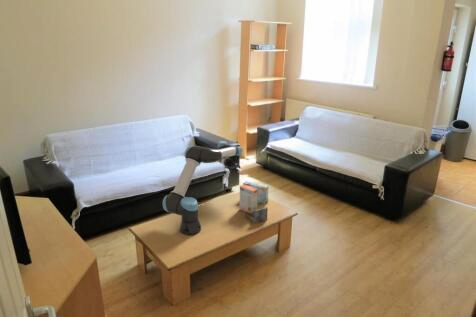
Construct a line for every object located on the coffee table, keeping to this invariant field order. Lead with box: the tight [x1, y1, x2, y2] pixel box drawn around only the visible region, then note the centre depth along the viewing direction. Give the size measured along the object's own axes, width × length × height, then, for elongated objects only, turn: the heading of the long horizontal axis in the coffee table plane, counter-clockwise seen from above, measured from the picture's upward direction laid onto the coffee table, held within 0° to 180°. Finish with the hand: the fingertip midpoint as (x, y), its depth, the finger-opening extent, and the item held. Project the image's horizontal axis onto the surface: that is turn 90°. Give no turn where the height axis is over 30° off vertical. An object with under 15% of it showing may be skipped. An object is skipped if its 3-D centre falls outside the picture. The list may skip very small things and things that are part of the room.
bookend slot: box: [244, 206, 269, 224], centre depth 262 cm, size 12×13×10 cm
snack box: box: [242, 180, 270, 205], centre depth 289 cm, size 21×6×15 cm, turn 63°
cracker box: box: [239, 184, 258, 216], centre depth 270 cm, size 14×6×21 cm, turn 45°
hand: (241, 171), depth 274 cm, fingers closed
